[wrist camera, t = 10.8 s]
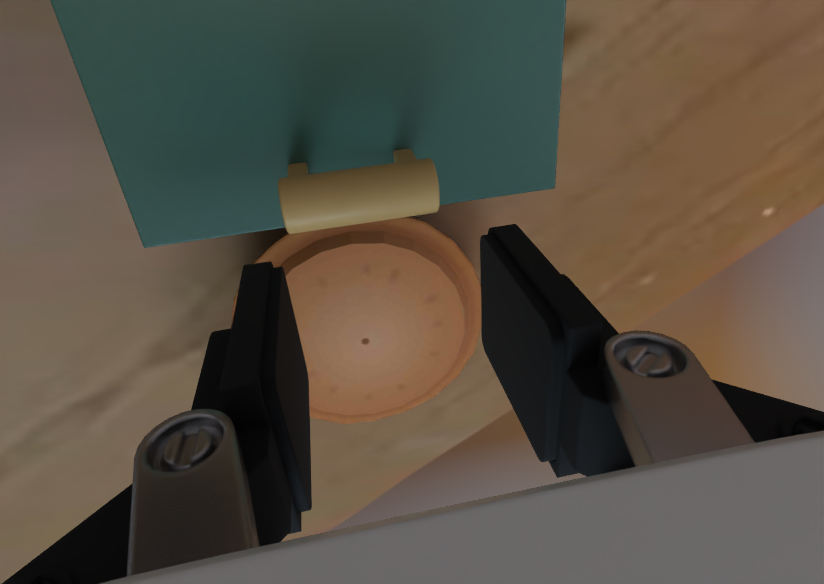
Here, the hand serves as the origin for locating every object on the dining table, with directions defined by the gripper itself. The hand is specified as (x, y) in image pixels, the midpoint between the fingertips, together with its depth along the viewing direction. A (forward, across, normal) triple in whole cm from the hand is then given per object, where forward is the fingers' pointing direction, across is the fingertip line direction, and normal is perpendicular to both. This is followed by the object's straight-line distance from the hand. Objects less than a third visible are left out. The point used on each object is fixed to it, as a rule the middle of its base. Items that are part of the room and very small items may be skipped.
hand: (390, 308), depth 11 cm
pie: (+22, 0, +12) cm, 25 cm away
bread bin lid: (+11, 0, -5) cm, 12 cm away
